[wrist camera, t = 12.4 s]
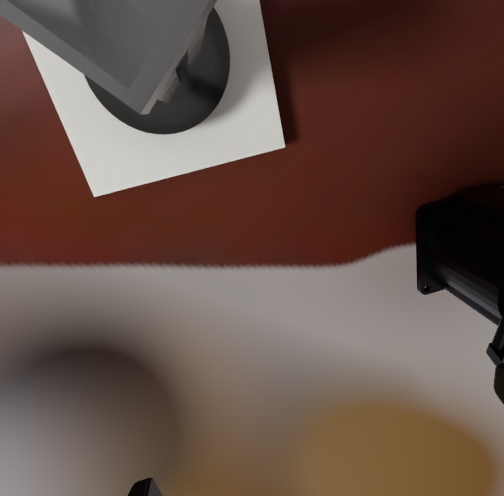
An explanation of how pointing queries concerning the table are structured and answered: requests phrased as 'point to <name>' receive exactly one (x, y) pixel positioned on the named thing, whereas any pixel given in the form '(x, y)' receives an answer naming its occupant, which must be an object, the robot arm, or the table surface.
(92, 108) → the ceramic tile
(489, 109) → the table surface
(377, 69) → the table surface
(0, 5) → the grey channel block
